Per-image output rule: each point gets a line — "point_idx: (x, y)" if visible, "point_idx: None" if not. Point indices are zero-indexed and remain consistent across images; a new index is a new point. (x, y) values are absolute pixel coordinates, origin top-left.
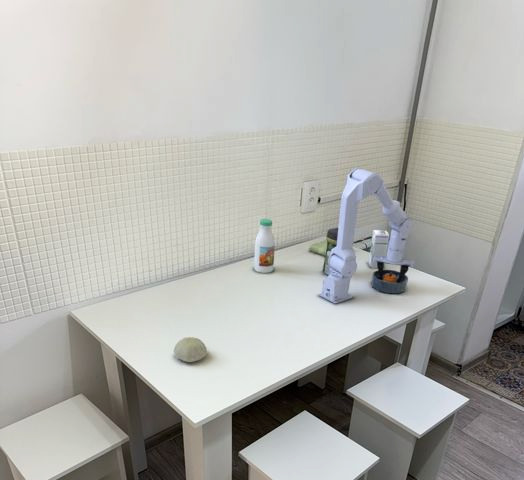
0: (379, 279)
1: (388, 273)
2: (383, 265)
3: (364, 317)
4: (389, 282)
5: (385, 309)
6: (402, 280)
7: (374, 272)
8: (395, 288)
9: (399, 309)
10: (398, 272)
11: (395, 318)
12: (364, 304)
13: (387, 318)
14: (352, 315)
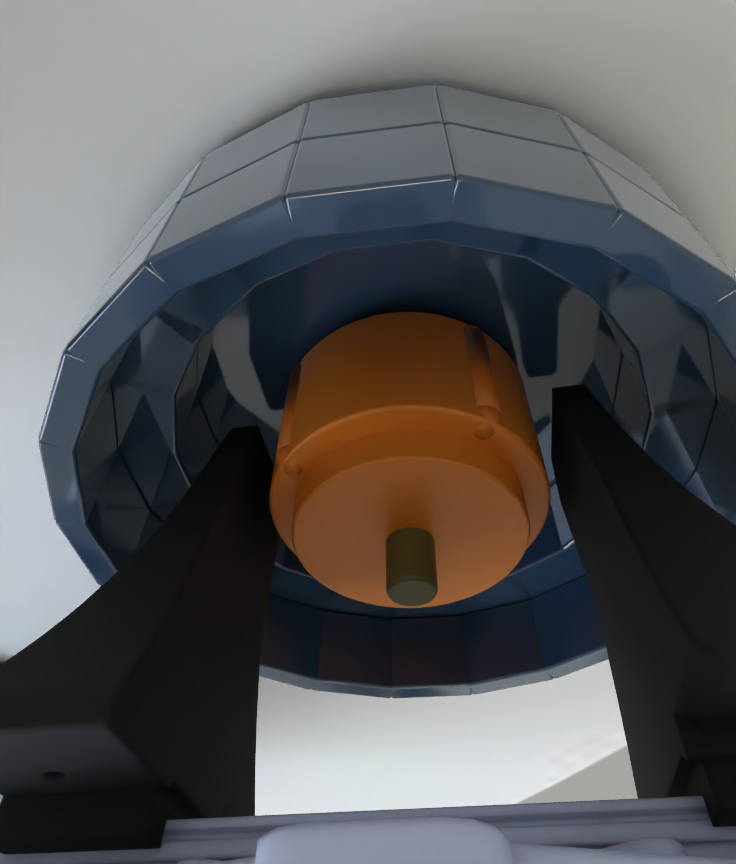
0: (270, 671)
1: (352, 478)
2: (215, 812)
3: (327, 810)
4: (426, 692)
5: (440, 738)
6: (667, 340)
7: (73, 509)
8: (517, 609)
9: (552, 716)
10: (601, 249)
11: (518, 784)
12: (271, 731)
13: (466, 793)
14: (255, 812)
